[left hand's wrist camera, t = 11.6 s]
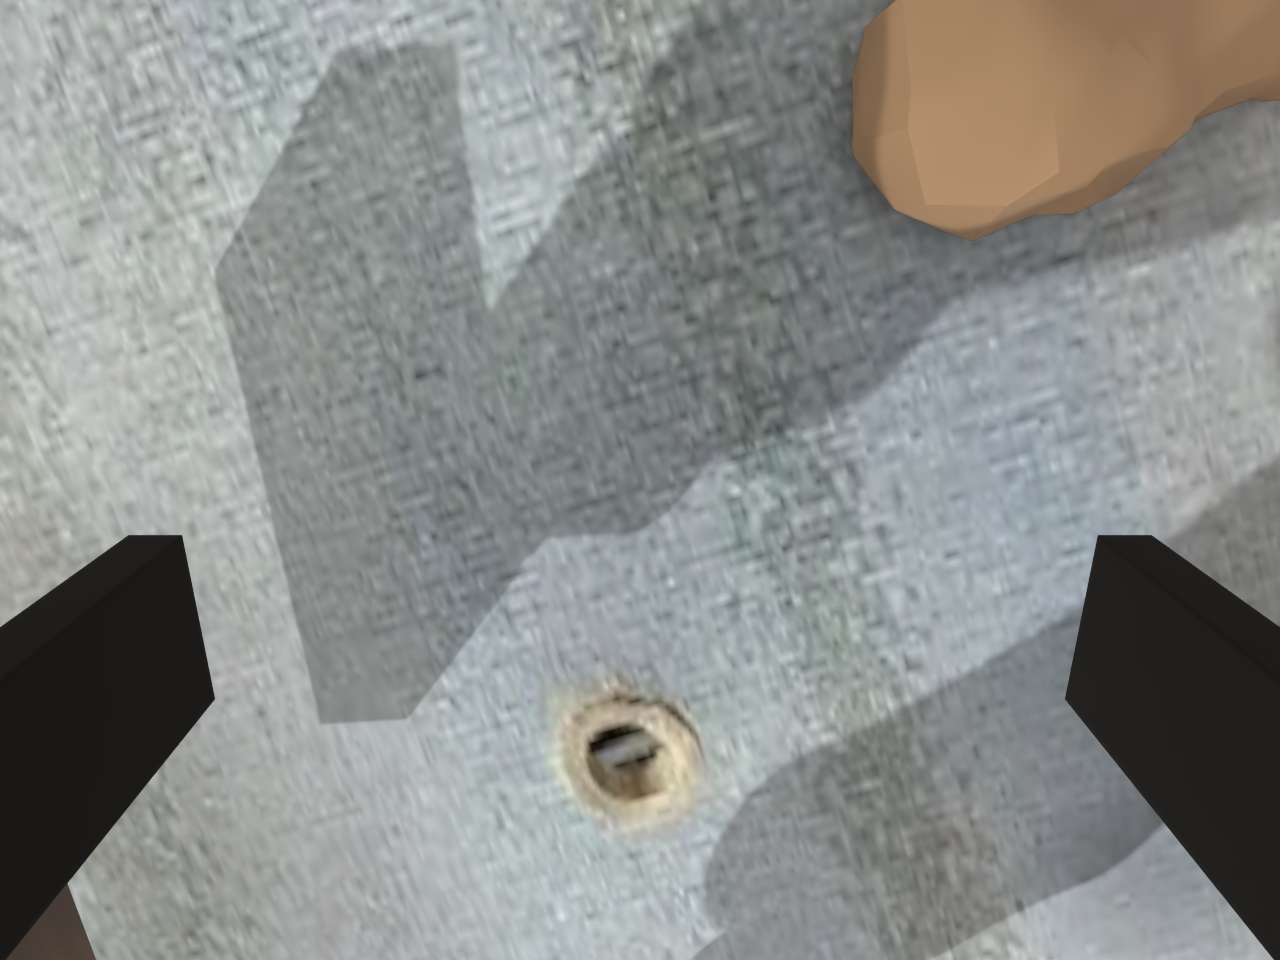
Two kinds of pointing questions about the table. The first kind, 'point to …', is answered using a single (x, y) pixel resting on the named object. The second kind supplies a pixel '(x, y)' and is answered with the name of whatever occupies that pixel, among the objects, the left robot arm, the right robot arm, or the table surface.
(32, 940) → the bar
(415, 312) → the table surface
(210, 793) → the table surface
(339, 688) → the table surface
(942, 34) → the squash
